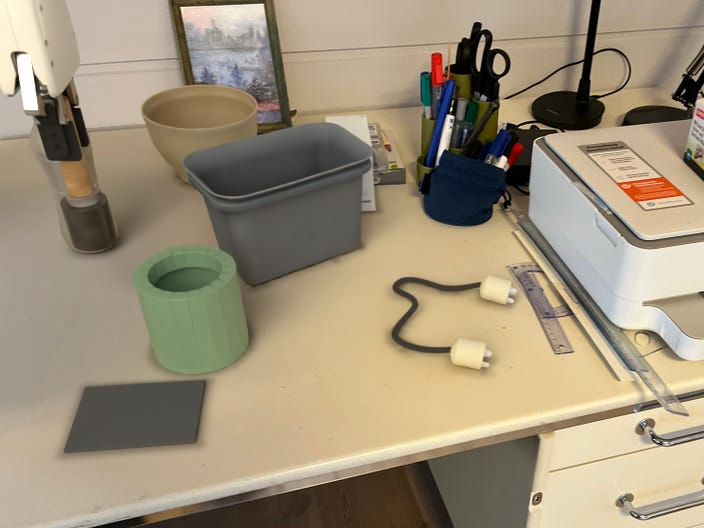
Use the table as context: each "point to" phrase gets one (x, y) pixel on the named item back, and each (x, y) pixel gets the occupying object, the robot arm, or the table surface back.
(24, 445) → the table surface
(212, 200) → the storage bin
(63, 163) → the brush
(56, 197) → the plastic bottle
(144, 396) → the mat
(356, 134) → the cosmetics box
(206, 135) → the planter bowl
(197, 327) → the jar
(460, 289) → the cable
